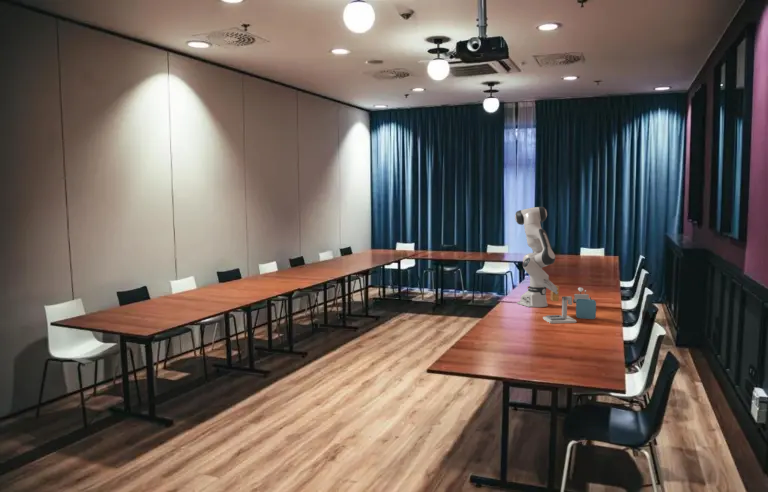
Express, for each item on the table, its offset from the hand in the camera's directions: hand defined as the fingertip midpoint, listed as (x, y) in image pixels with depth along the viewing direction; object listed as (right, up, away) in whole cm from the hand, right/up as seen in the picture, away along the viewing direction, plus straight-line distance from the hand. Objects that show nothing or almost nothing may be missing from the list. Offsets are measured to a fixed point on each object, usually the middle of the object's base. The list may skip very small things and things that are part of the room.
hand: (555, 292), depth 371 cm
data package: (+17, -16, -8) cm, 25 cm away
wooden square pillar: (-1, -5, +1) cm, 5 cm away
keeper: (-3, -17, -15) cm, 23 cm away
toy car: (+35, -11, +47) cm, 59 cm away
